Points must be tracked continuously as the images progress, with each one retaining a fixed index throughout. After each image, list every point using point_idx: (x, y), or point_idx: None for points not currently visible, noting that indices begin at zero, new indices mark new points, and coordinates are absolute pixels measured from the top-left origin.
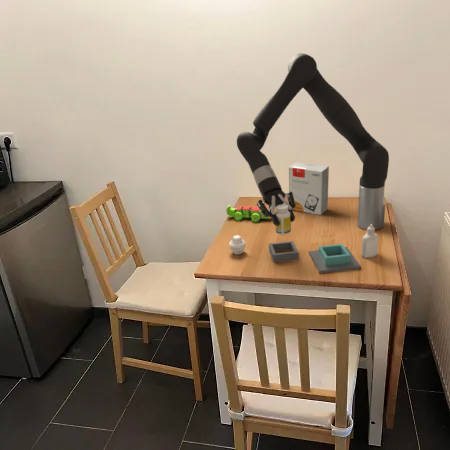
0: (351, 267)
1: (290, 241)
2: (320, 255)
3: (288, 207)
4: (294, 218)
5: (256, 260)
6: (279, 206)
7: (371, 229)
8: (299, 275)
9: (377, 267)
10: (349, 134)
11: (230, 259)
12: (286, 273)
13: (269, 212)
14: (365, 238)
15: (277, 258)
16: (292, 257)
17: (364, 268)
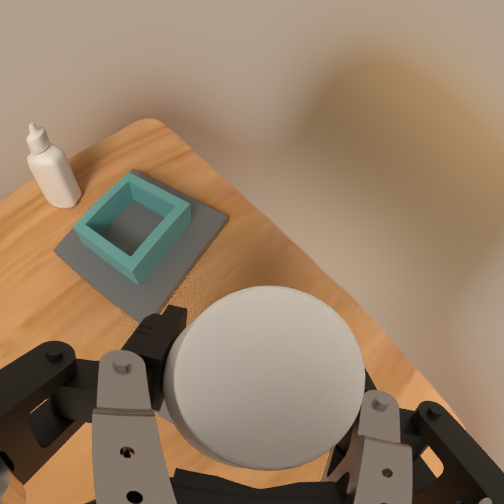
0: (151, 178)
1: (161, 412)
2: (154, 261)
3: (140, 379)
4: (170, 305)
5: None
6: (309, 409)
7: (43, 128)
8: (281, 253)
9: (109, 159)
10: None
11: None
12: (306, 288)
13: (420, 410)
14: (60, 152)
15: None
16: None
17: (128, 171)
